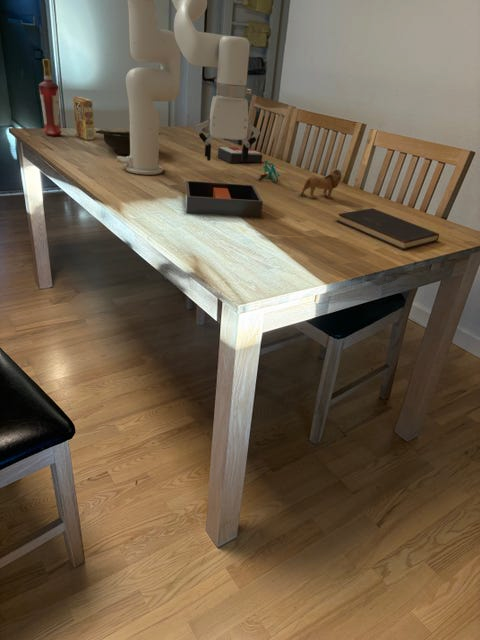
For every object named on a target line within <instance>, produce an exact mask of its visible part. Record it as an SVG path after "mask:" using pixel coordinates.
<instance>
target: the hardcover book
mask: <svg viewBox="0 0 480 640" xmlns="http://www.w3.org/2000/svg"><path fill="white" fill-rule="evenodd" d="M337 215H338V216H339V217H338V219H337V220H336V222H337V223H339V224H341V225H344V226H346V227H347V228H350V229H353V230H356V231H357V232H360V233H362V234H364V235H367V236H369V237H372V238H374V239H377V240H379V241H381V242H384V243H385V244H388V245H391V246H392V247H395V248H397V249H399V250H401V251H404V250H408V249H413V248H416V247H420V246H424V245H428V244H432V243H436V242H438V240H439V238H440V233H438V232H435V231H433V230H431V229H429V228H425V227H422V226H420V225H418V224H415V223H412V222H410V221H407V220H404V219H402V218H399V217H397V216H394V215H391V214H389V213H386V212H384V211H381V210H379V209H376V208H373V207H372V208H365V209H359V210H353V211H347V212H342V213H341V212H340V213H338V214H337Z"/></svg>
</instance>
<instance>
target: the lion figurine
mask: <svg viewBox="0 0 480 640" xmlns="http://www.w3.org/2000/svg"><path fill="white" fill-rule="evenodd" d="M342 177H343V176H342V171H341V170H340V169H338V168H334V169H331V170H330V172H329V173H328V174H327V175H326V176H324V177H319V176H316V175H311V176H308V178H307V179H306V181H305V183H304V185H303V188H302V190H301V193H300V194H299V196H300V197H302V196H304V197H305V196H306V193H305V191H307V190H309V189H310V191H309V194H310V197H311V198H312V199H316V198H317V197H316V196H315V195H314V192H315V190H316V189H320V190H323V193H322V197H327V198H328V199H331V200H332V198H333V197H332V196H331V195H332V193H333V189H336V188H337V187H338V186H339V184H340V182H341V180H342ZM327 190H328V191H327ZM327 192H328V193H327Z"/></svg>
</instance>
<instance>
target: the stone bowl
mask: <svg viewBox="0 0 480 640" xmlns="http://www.w3.org/2000/svg"><path fill="white" fill-rule="evenodd" d="M95 133H96V134H100V135H103V141H104V143H105V145H108V146H109V147H110V148H113V149H114V150H115V153H116V154H117V155H119V156H121V155H122V156H123V155H124V156H129V155H130V130H119V129H117V130H109V129H106V130H105V129H104V130H103V129H98V130H94V134H95ZM161 134H162V133H160V132H159V136H160V135H161Z"/></svg>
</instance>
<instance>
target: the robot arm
mask: <svg viewBox="0 0 480 640" xmlns="http://www.w3.org/2000/svg"><path fill="white" fill-rule="evenodd" d="M126 2H127V6H128V7H127V8H128V33H129V34H128V35H129V51H130V55H131V57H132V59H133V60H135V61H136V62H138V63H139V62H140V63H145V64H158V65H159V67H160V68H154V67H142V66H141V67H139V66H138V67H134V68H131V69H130V70H129V71H128V72H127V74H126V76H125V88H126V93H127V100H128V111H129V113H128V114H129V115H128V116H129V131H130V155H126V156H121V155H119V156H118V155H117V156H116V162H117V163H119V164H125V170H126V171H127V172H129V173H131V174H137V175H144V176H151V175H152V176H153V175H159V174H162V173H164V167H162V166H161V165H159V159H160V158H159V157H160V156H159V155H160V153H159V152H160V151H159V150H160V135H159V133H160V118H159V117H160V115H159V113H158V110H157V108H156V106H155V105H154V102H173V101H175V100H176V99H177V98H178V96H179V94H180V89H181V54H182V56H183V57H184V59H185V60H186V61H187V63H189V64H191V65H193V66H195V67H208V68H209V67H210V68H217V72H216V73H217V74H216V92H215V95H213V96H212V98H211V99H212V100H211V104H210V111H209V119H207V120H205V121H202V122H201V123H198V124H196V125H195V129H196V131H197V132H196V133H197V134H198V136H199V138H200V139H201V141H202V142H203V143H204V157H205V158H206V160H207V161H211V154H212V144H211V143H212V142H213V140H214V139H220V140H221V139H222V140H232V141H233V140H234V141H241V142H242V143H243V145H242V147H241V148H242V158H241V161H242V162H241V163H243V164H246V162H245V160H246V159H248V150H249V149H250V147H251V146H252V145H253V144H254V143H256V141H257V140H258V138H259V136H260V135H261V130H260V129H258V128H256V127H255V126H254V125H252V124H251V123H250V122H249V103H248V99H247V98H246V97H247V96H248V95H250V96H251V95H252V88H249V87H247V82H248V80H247V79H248V69H249V58H250V48H251V47H250V45H251V44H250V41H249V40H248V39H247V38H246V37H243V36H234V35H225V34H220V33H219V34H218V33H212V32H206V31H198V30H197V28H196V27H195V25H194V23H193V22H195V21H197V20H198V19H200V18H201V17H202V16H203V15H204V14H205V12H206V10H207V8H208V0H171V2H172V4H173V7H174V8H175V10H176V13H175V16H174V20H173V31H171V30H169V29H163V28H159V17H158V16H159V14H158V8H157V5H156V3H155V0H126ZM207 127H208V133H209V134H208V135H207V136H206V135H205V134H204V132H203V129H205V128H207ZM249 131H250V132H252V133H253V134H252V135H251V137H250V138H249V139H247V137H248V132H249Z"/></svg>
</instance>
